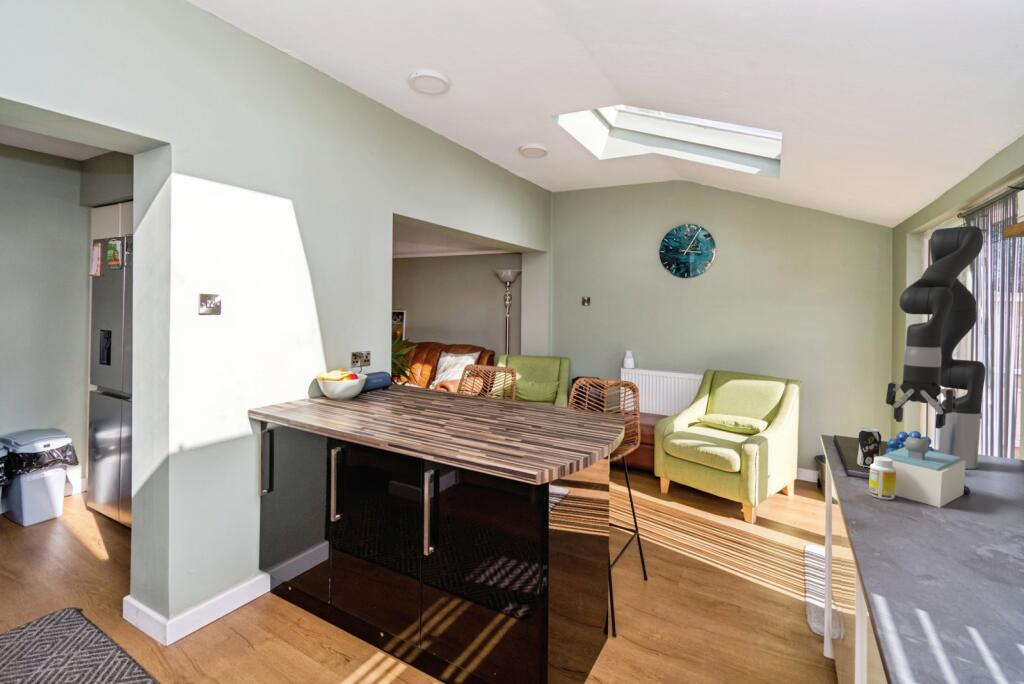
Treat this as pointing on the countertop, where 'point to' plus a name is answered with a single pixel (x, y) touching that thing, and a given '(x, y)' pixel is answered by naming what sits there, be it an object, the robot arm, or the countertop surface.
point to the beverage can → (868, 446)
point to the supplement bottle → (882, 478)
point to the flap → (923, 453)
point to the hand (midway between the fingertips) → (918, 424)
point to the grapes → (901, 440)
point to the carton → (928, 480)
